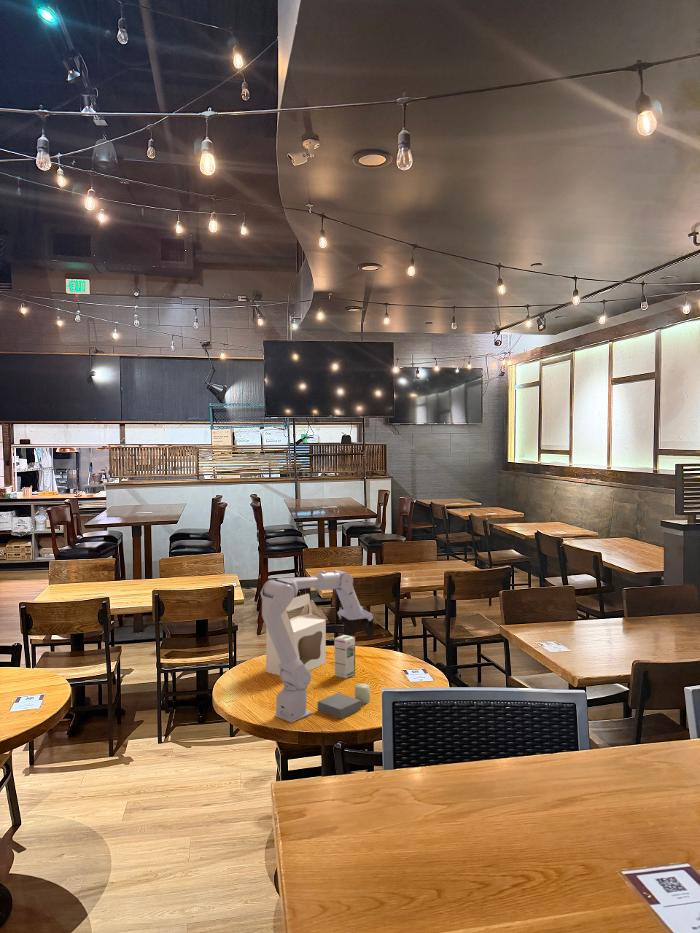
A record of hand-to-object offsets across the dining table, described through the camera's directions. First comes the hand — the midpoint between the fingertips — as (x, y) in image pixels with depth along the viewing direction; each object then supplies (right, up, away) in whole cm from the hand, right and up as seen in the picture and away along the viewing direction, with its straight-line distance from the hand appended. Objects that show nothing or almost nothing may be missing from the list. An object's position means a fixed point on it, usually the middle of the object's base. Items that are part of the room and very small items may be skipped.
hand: (362, 634), depth 215 cm
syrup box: (-7, -21, +19) cm, 29 cm away
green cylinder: (0, -21, -6) cm, 22 cm away
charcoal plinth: (-8, -21, -14) cm, 26 cm away
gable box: (-26, -21, +27) cm, 43 cm away
